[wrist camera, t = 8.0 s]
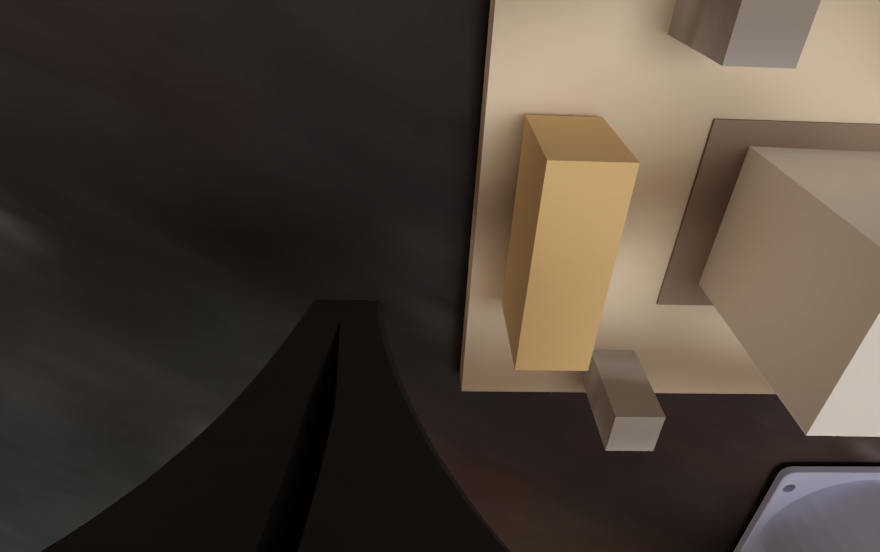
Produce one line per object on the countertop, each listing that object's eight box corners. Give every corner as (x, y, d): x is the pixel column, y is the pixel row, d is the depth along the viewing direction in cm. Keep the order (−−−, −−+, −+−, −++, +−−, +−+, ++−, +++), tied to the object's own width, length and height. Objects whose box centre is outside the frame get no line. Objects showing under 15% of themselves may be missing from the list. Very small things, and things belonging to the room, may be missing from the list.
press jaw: (564, 304, 18) (587, 371, 16) (501, 303, 18) (514, 370, 16) (602, 117, 15) (640, 162, 12) (525, 114, 15) (547, 159, 12)
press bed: (878, 375, 22) (960, 462, 19) (459, 371, 21) (467, 460, 18) (1142, -42, 14) (1362, -21, 11) (496, -73, 13) (521, -61, 10)
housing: (837, 288, 18) (1033, 475, 12) (698, 284, 18) (832, 472, 12) (909, 153, 16) (1197, 307, 10) (749, 145, 15) (948, 299, 10)
